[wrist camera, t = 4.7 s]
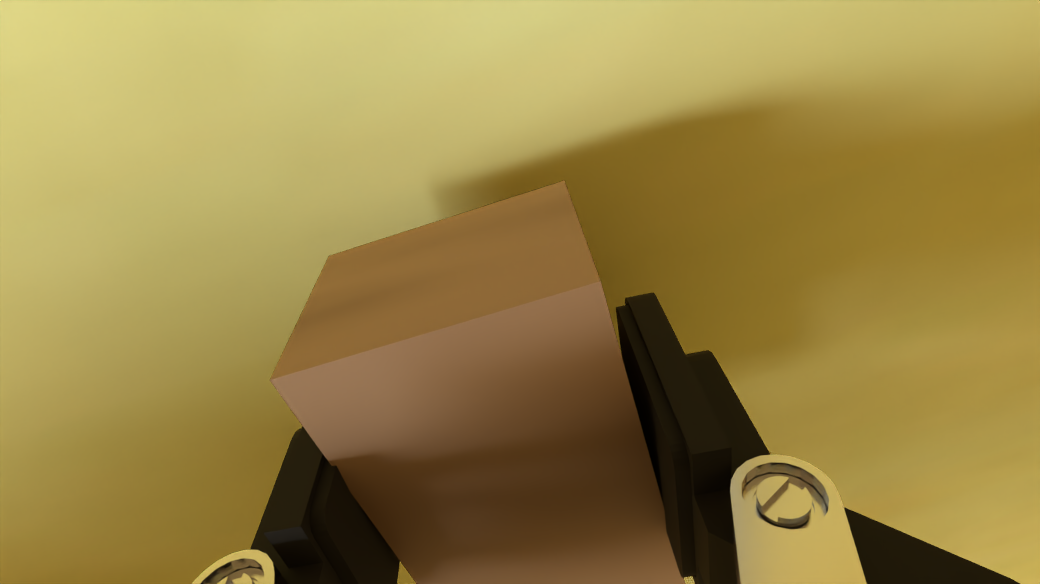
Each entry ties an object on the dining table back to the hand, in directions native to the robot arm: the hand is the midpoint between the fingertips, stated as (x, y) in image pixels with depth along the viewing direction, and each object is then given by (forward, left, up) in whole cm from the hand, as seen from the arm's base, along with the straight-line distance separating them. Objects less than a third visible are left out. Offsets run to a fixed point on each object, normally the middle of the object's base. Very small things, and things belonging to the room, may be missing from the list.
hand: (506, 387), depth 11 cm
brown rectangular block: (0, 0, -1) cm, 1 cm away
